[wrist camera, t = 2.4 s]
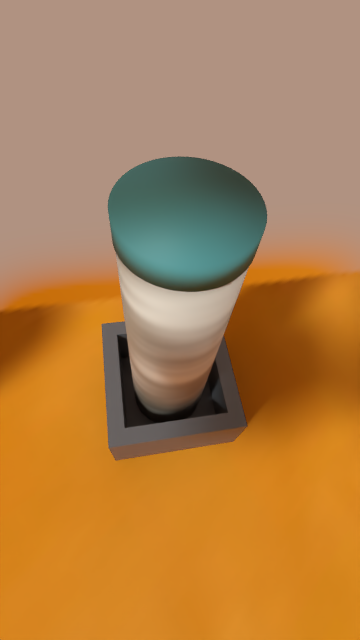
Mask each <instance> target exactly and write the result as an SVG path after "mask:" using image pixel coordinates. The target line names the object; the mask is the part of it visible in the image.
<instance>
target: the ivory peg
mask: <svg viewBox="0 0 360 640" xmlns="http://www.w3.org/2000/svg"><path fill="white" fill-rule="evenodd" d="M108 212H109V220H110V227H111V233H112V241H113V246H114V249H115V251H116V257H117V265H118V273H119V280H120V287H121V295H122V303H123V311H124V318H125V326H126V333H127V341H128V348H129V356H130V363H131V371H132V378H133V386H134V394H135V400H136V403H137V405H138V407H139V409H140V410H141V412H142V413H143V414H144V415H145V416H146V417H148V418H149V419H151V420H153V421H155V422H157V423H163V422H169V421H176V420H183V419H186V418H188V417H189V416H190V415H191V414H192V413H193V412H194V411H195V409H196V408H197V405H198V403H199V401H200V398H201V395H202V392H203V390H204V387H205V384H206V382H207V379H208V376H209V373H210V371H211V368H212V365H213V363H214V360H215V357H216V354H217V352H218V349H219V346H220V344H221V341H222V338H223V335H224V333H225V330H226V327H227V325H228V322H229V319H230V316H231V314H232V311H233V308H234V306H235V303H236V300H237V298H238V295H239V292H240V289H241V287H242V284H243V281H244V279H245V276H246V273H247V270H248V268H249V266H250V264H251V263H252V261H253V259H254V257H255V254H256V251H257V249H258V246H259V243H260V240H261V238H262V236H263V233H264V230H265V227H266V223H267V210H266V206H265V202H264V200H263V198H262V196H261V194H260V193H259V191H258V190H257V189H256V187H255V186H254V185H253V184H252V183H251V182H250V181H249V180H247V179H246V178H245V177H244V176H242V175H241V174H240V173H238V172H236V171H235V170H233V169H231V168H229V167H227V166H224V165H222V164H219V163H216V162H213V161H210V160H206V159H201V158H194V157H167V158H160V159H155V160H152V161H149V162H145V163H143V164H141V165H138V166H136V167H134V168H133V169H131V170H129V171H128V172H127V173H125V174H124V175H123V176H122V177H121V178H120V179H119V180H118V181H117V182H116V184H115V185H114V187H113V188H112V191H111V193H110V196H109V200H108Z"/></svg>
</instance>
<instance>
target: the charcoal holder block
mask: <svg viewBox="0 0 360 640" xmlns="http://www.w3.org/2000/svg"><path fill="white" fill-rule="evenodd" d="M102 338H103V355H104V373H105V391H106V408H107V426H108V444H109V449H110V451H111V453H112V455H113V456H114V458H115V460H121V459H128V458H134V457H140V456H146V455H152V454H158V453H165V452H171V451H177V450H183V449H189V448H195V447H201V446H208V445H214V444H220V443H226V442H232V441H234V440H235V439H236V438H237V437H238V436H239V435H240V434H241V433H242V432H243V430H244V429H245V428H246V427H247V423H246V419H245V415H244V411H243V407H242V403H241V400H240V396H239V392H238V388H237V384H236V380H235V377H234V373H233V369H232V365H231V361H230V358H229V354H228V350H227V346H226V342H225V338H224V335H223V338H222V341H221V344H220V346H219V349H218V352H217V354H216V357H215V360H214V363H213V365H212V368H211V371H210V373H209V376H208V379H207V382H206V384H205V387H204V390H203V392H202V395H201V398H200V401H199V403H198V405H197V408H196V409H195V411H194V412H193V413H192V414H191V415H190V416H189V417H188V418H186V419H183V420H176V421H169V422H163V423H157V422H155V421H153V420H151V419H149V418H148V417H146V416H145V415H144V414H143V413H142V412H141V410H140V409H139V407H138V405H137V403H136V400H135V394H134V386H133V378H132V371H131V363H130V356H129V348H128V341H127V333H126V326H125V322H116V323H107V324H102Z"/></svg>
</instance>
